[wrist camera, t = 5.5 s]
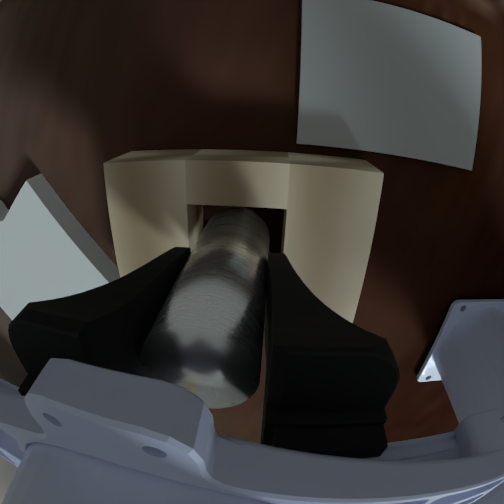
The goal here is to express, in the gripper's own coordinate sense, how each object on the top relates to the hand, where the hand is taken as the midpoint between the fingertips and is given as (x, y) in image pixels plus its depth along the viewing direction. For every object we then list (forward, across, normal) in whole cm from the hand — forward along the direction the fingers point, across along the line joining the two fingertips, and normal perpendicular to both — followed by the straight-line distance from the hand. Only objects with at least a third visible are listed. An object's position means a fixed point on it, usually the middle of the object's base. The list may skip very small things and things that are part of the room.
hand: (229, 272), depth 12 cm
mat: (+5, -8, -8) cm, 12 cm away
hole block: (+5, 0, 0) cm, 5 cm away
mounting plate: (+6, +14, +6) cm, 16 cm away
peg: (+2, 0, 0) cm, 3 cm away
